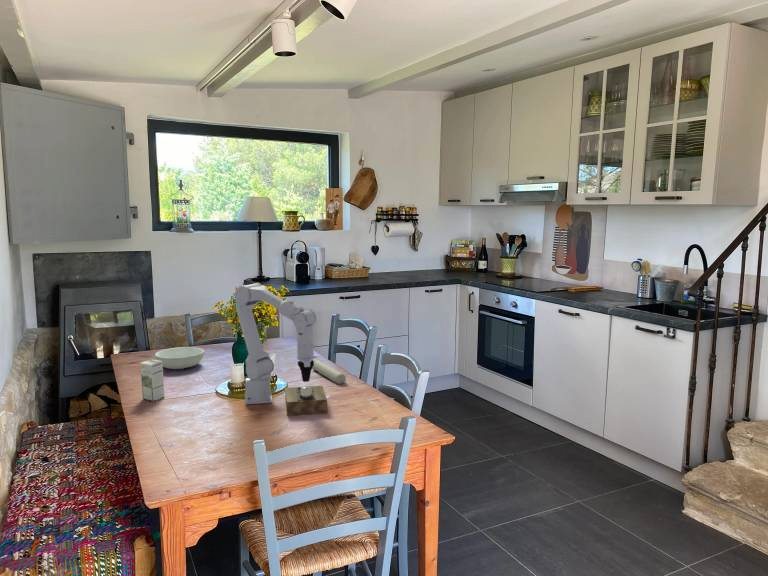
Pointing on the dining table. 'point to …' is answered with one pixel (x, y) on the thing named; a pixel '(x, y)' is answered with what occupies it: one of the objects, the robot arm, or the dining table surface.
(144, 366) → the syrup box
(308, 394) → the steel peg
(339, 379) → the tube
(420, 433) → the dining table surface
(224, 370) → the dining table surface
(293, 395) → the brown flat block
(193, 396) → the dining table surface
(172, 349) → the serving bowl
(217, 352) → the dining table surface
